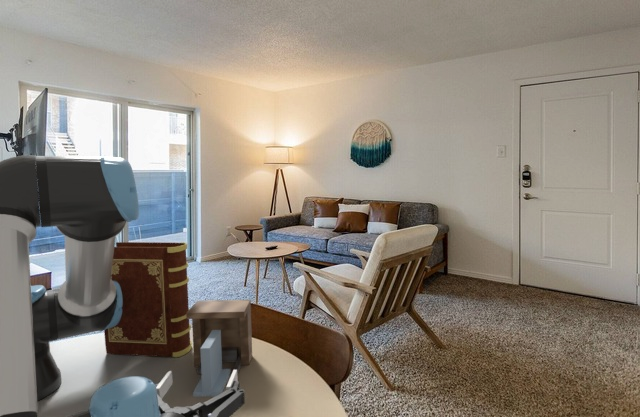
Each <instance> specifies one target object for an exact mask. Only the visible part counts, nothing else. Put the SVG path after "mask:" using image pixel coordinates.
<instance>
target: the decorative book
mask: <svg viewBox="0 0 640 417" xmlns="http://www.w3.org/2000/svg"><path fill="white" fill-rule="evenodd" d="M115 245H116V246H114V255H113V263H112V271H111V280H112V281H116V282H118V283H119V285H120V287H121V291H122V298H123V306H122V315H121V319H120V321H119V323H118V324H117V325H116V326H114V327H112V328H108V329H106V330H103V332H104V344H105V352H106V355H116V356H117V355H119V356H121V355H122V356H138V357H141V356H142V357H143V356H145V357H166V358H167V357H172V358H180V357H183V356H185V355H186V354H187V353H188V352H190V351H191V349H192V346H193V341H192V340H191V332H190V331H191V330H192V323H190V319H186V313H187V312H188V310H189V309H190V307H189V290H188V288H189V287H188V283H189V281H190V279H189V276H188V267H189V262H187V250H188V243H187V242H150V241H149V242H147V241H145V242H143V241H142V242H138V241H137V242H135V241H134V242H132V241H130V242H129V241H125V242H122V241H121V242H120V241H119V242H118V241H117V242H116V241H115Z"/></svg>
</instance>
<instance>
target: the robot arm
mask: <svg viewBox="0 0 640 417" xmlns="http://www.w3.org/2000/svg"><path fill="white" fill-rule="evenodd" d="M137 190H138V189H137V184H136V181H135V175H134V171H133V168H132V165H131V163H130V162H129V160H127V159H126V158H123V157H119V156H118V157H115V156H106V155H101V156H92V155H91V156H87V155H86V156H84V155H83V156H80V155H79V156H78V155H76V156H75V155H65V156H64V155H63V156H62V155H35V154H34V155H33V154H32V155H31V154H25V155H18V156H14V157H10V158H7V159H3V160H1V161H0V417H38V414H39V412H38V410H39V408H38V402H39V401H40V400H42V399H45V398H46V397H48V396H50V395H51V394H53V393H54V392H55V391H57V390H58V388H59V387H60V386H61V384H62V372H61V370H60V368H59V367H58V365H57V363H56V360H55V358H54V356H53V354H52V352H51V346H50V343H51V342H53V341H59V340H62V339H67V338H72V337H76V336H82V335H85V334H86V335H87V334H89V333H94V332H104V330H106V329H108V328H112V327H114V326H116V325H117V324H118V323H119V321H120V319H121V315H122V306H123V298H122V291H121V287H120V285H119V283H118V282H116V281H112V280H111V271H112V263H113V255H114V247H116V246H115V245H116V237H117V236H118V235H119V234H121V233H122V231H123V230H124V228H125V227H126V224H127V223H129V222H132V221H136V220H137V219H138V218H139V216H140V206H139V199H138V198H139V197H138V191H137ZM47 227H55V228H56V229H57V230H58V232H59V233H61V234H62V235H63V236H64V256H65V257H64V258H65V259H64V260H65V262H64V263H65V266H64V267H65V281H64V282H63V283H62V284H61V285H60V287H59V288H57V289H52V290H47V289H46V287H45V285H42V284H35V285H32V282H31V267H30V266H31V265H30V264H31V263H30V248H29V244H30V243H32V242H33V241H34V240H35V238H36V237H37V228H47ZM226 384H227V385H225V389H226V390H225V391H223V392H222V393H221V394H219V395H217V396H212V398H210V399H208V400H206V401H204V402H202V401H199V402H197V403H195V404H193V405H191V406H189V405H187V406H173V407H170V405H169V404H168V403H167V402H165V401H163V398H164V397H165V395H166V394H167V392H168V391H169V390H170V388H171V386H172V385H173V370H169V371H167V372H166V373H165V375H164V376H163V378H162V379H161V380H160V382H157V383H155V382H153V380H151V379H150V378H147V377H145V376H140V375H139V376H137V375H130V376H129V375H128V376H123V377H119V378H116V379H113V380H111V381H110V382H109V383H107V384H104V385H102V386H100V387H99V388H98V389H96V391H94V393H93V394H92V396H91V399H90V403H89V404H90V405H89V408H88V409H86V410H83V411H81V412H78V413H74V414H71V415H67V416H66V417H232V415H234V414H235V412H237V411H238V410H239V409H241V407H243V405H245V401H246V399H245V398H246V397H245V390H244V389H242V388H240V381H238V373H237V370H234V369H233V370H232V372H231V374H230V376H229V378H228V381H227V383H226Z"/></svg>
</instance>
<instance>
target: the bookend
mask: <svg viewBox="0 0 640 417" xmlns="http://www.w3.org/2000/svg"><path fill="white" fill-rule="evenodd" d="M200 352H201V374H200V375H201V378H200V379H199V381H198V383H197V384H196V386H195V389H194V391H193V392H192V396H193V397H194V398H195V397H197V398H199V397H201V398H202V397H215V396H217V395H219V394H221V393H223V392H224V389H225V388H226V386H227V385H226V384H227V383H228V381H229V378H230V376H231V374H232V372H231V368H223V362H222V350H221V330H212V331H211V333H210V334H209V336H208V338H207V339H206V341H205V342H204V344H203V345H202V347H201V348H200Z"/></svg>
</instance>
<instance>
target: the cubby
mask: <svg viewBox="0 0 640 417" xmlns="http://www.w3.org/2000/svg"><path fill="white" fill-rule="evenodd" d="M251 301H252V300H251V299H220V300H218V299H214V300H211V299H210V300H197V301H196V302H195V303H193V305H192V306H191V307H189V310H188V312H187V313H186V319H189V320H191V330H192V346H193V347H192V348H193V351H192V352H193V365H194V367H197V369H196V373H197V375H202V374H201V352H200V348H201V347H202V345H203V344H204V342H205V341H206V339H207V338H208V336H209V334H210V333H211V331H212V330H221V350H222V363H227V362H228V363H230V362H231V363H232V362H233V363H235V364H234V367H233V370H237V374H239V372H240V369H241V368H242V366H250V363H251V362H252V358H253V339H252V337H253V336H252V335H253V334H252V310H251V309H252V308H251V306H252V305H251V303H252V302H251Z"/></svg>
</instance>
